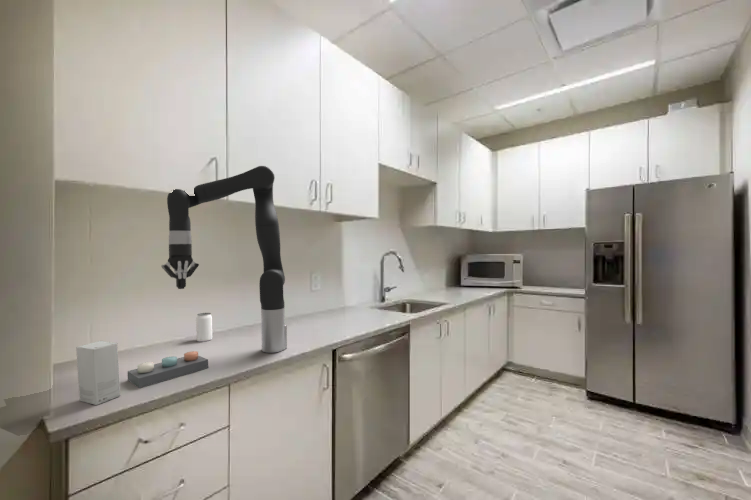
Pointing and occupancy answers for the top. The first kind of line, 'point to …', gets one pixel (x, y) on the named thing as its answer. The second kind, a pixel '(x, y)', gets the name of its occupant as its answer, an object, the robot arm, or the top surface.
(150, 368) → the cream button
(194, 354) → the terracotta button
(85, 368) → the skincare box
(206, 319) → the can
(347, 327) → the top surface
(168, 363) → the teal button
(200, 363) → the console
